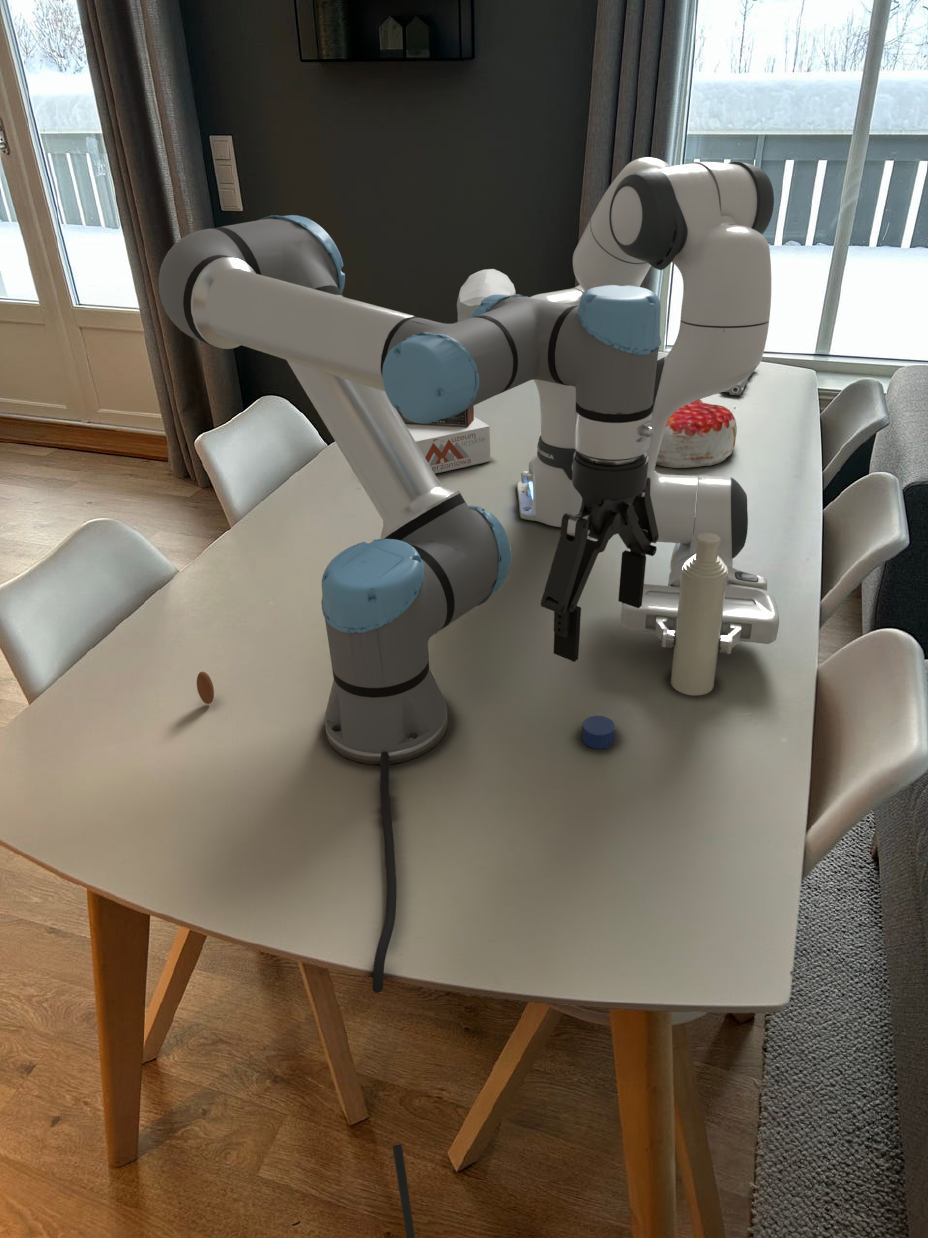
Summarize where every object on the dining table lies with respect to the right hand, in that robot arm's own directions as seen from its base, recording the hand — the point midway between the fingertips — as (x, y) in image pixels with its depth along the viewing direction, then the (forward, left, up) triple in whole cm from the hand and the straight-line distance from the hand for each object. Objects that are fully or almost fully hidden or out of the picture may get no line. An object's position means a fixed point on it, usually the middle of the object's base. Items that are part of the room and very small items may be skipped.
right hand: (696, 646), depth 115 cm
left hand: (+7, -15, +9) cm, 19 cm away
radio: (-89, -19, -6) cm, 92 cm away
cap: (+7, -15, -5) cm, 17 cm away
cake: (-80, +31, -6) cm, 86 cm away
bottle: (-1, 0, -6) cm, 6 cm away
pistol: (-121, +57, -6) cm, 134 cm away
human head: (-151, +6, -6) cm, 151 cm away
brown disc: (-12, -62, -6) cm, 64 cm away
